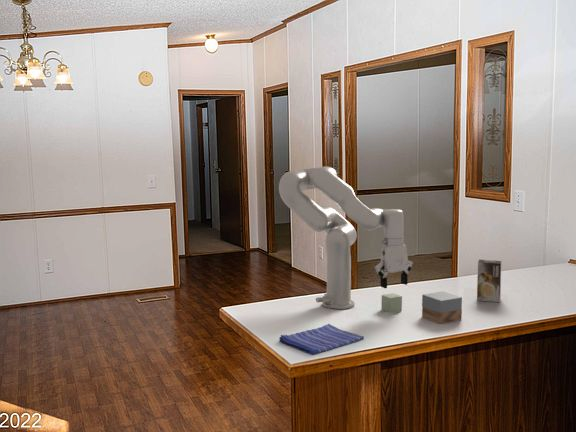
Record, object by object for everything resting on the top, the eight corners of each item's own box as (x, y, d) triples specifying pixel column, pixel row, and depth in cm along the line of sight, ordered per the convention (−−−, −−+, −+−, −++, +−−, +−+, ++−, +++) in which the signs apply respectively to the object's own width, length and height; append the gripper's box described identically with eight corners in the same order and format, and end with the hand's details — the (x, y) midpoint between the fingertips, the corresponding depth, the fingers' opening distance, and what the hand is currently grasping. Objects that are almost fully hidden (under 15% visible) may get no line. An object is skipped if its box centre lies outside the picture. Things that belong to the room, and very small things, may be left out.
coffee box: (500, 298, 255) (502, 260, 253) (499, 302, 249) (501, 263, 247) (477, 296, 258) (479, 259, 256) (476, 300, 252) (477, 261, 250)
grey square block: (440, 313, 220) (441, 300, 220) (422, 306, 229) (422, 294, 229) (461, 309, 225) (462, 297, 225) (442, 302, 234) (442, 291, 233)
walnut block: (440, 325, 221) (440, 313, 221) (422, 318, 230) (422, 306, 229) (461, 321, 226) (461, 309, 225) (442, 314, 235) (442, 302, 234)
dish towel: (276, 343, 203) (276, 334, 202) (328, 328, 218) (328, 320, 217) (312, 357, 190) (312, 348, 189) (364, 341, 205) (364, 332, 204)
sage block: (390, 313, 234) (390, 298, 234) (381, 309, 239) (381, 294, 238) (401, 311, 237) (402, 296, 236) (392, 308, 242) (393, 293, 241)
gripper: (381, 245, 227) (381, 290, 229) (418, 240, 235) (418, 284, 237) (369, 242, 234) (369, 287, 236) (405, 238, 242) (405, 281, 244)
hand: (394, 285), depth 236 cm, fingers open, 9 cm apart
